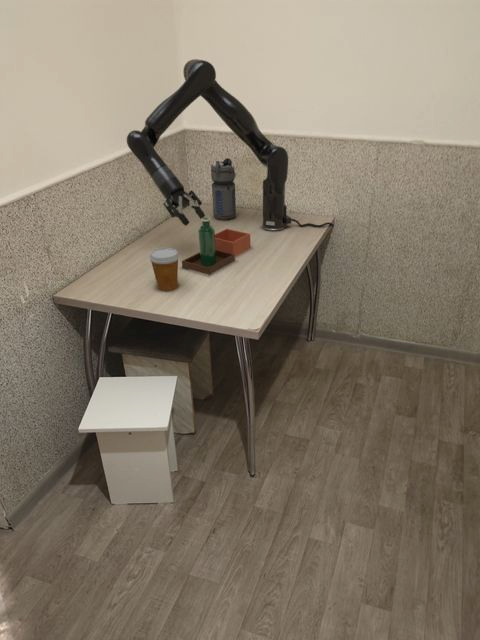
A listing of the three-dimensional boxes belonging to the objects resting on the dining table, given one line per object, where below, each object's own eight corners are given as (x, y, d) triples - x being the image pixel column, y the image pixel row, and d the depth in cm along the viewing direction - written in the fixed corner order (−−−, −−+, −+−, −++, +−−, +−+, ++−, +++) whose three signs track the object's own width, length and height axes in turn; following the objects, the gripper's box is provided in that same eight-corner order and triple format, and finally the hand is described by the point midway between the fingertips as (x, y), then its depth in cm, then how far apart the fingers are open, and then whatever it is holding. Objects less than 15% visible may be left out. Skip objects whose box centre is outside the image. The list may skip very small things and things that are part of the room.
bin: (227, 242, 203) (226, 228, 200) (250, 248, 198) (250, 233, 194) (209, 251, 195) (208, 236, 192) (233, 257, 190) (233, 242, 186)
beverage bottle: (241, 213, 234) (240, 156, 221) (229, 222, 224) (227, 163, 210) (221, 211, 237) (219, 154, 224) (208, 219, 227) (205, 161, 213)
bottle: (213, 259, 187) (210, 215, 178) (218, 264, 183) (216, 219, 174) (198, 261, 185) (195, 217, 176) (203, 267, 181) (200, 222, 172)
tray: (208, 254, 192) (208, 247, 191) (235, 261, 187) (234, 254, 185) (182, 268, 182) (181, 261, 180) (209, 275, 176) (208, 268, 175)
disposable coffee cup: (187, 283, 171) (184, 249, 165) (173, 295, 163) (170, 260, 157) (161, 279, 174) (157, 245, 167) (147, 290, 166) (142, 256, 160)
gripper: (158, 180, 170) (187, 220, 170) (186, 171, 180) (213, 209, 181) (148, 194, 175) (177, 232, 176) (176, 185, 185) (202, 221, 186)
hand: (195, 220), depth 178 cm, fingers open, 8 cm apart
